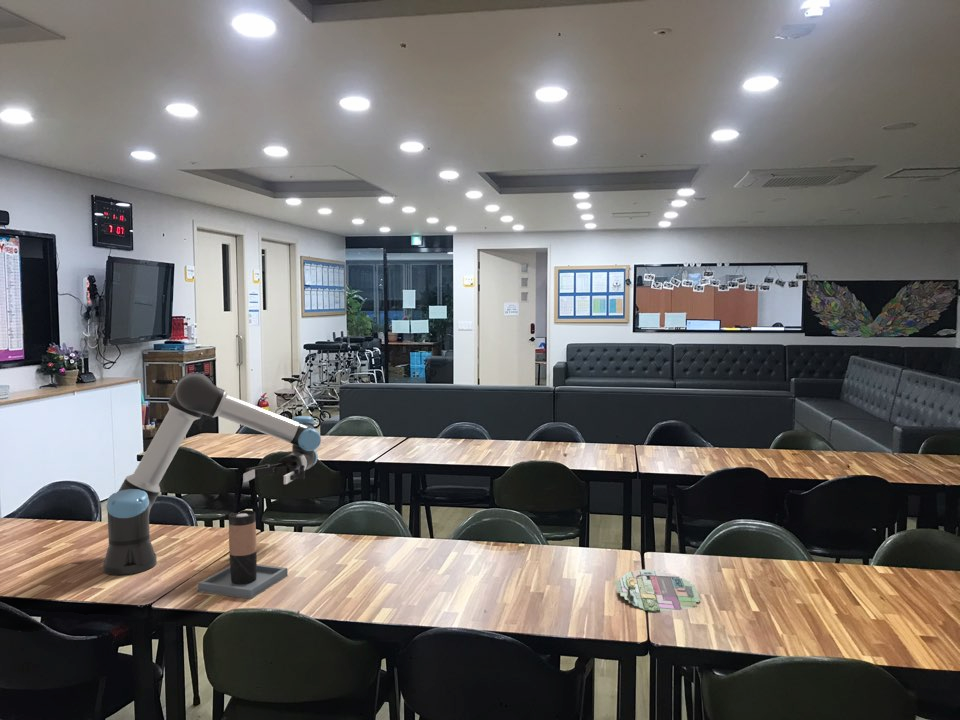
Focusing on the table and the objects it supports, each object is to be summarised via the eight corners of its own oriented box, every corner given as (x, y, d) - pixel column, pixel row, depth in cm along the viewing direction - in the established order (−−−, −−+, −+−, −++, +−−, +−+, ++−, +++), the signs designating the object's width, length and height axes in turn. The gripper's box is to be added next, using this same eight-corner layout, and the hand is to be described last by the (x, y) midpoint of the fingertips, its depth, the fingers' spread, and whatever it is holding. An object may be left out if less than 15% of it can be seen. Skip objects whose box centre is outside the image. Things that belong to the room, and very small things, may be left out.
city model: (636, 627, 184) (639, 605, 183) (597, 583, 206) (598, 564, 205) (718, 616, 191) (721, 596, 190) (671, 575, 213) (673, 557, 212)
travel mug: (252, 585, 205) (250, 517, 203) (226, 585, 205) (224, 517, 203) (261, 575, 212) (259, 510, 211) (235, 575, 212) (233, 510, 211)
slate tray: (197, 591, 203) (197, 582, 202) (237, 569, 220) (237, 561, 220) (251, 599, 197) (251, 590, 197) (287, 576, 214) (287, 567, 214)
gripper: (326, 477, 243) (301, 492, 222) (258, 474, 246) (227, 488, 226) (326, 456, 242) (301, 469, 221) (258, 453, 246) (227, 465, 225)
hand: (264, 479), depth 223 cm, fingers open, 13 cm apart
